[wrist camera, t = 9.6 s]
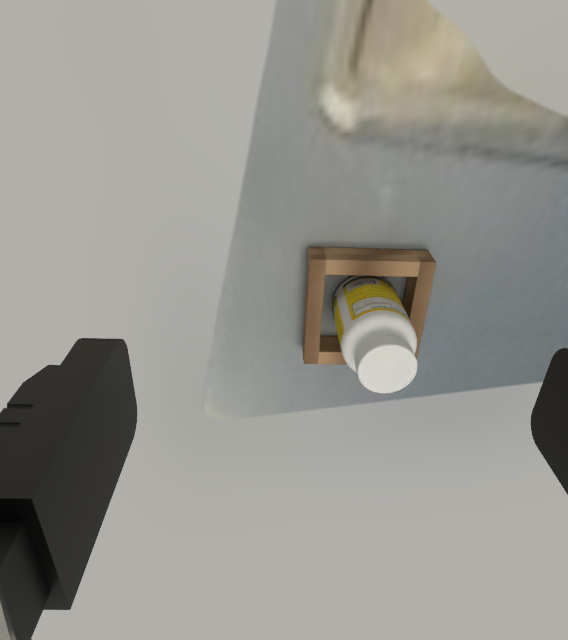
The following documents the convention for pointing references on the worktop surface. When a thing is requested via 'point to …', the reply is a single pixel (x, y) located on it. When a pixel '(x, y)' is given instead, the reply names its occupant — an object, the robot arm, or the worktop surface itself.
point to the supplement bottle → (375, 333)
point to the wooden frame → (366, 263)
